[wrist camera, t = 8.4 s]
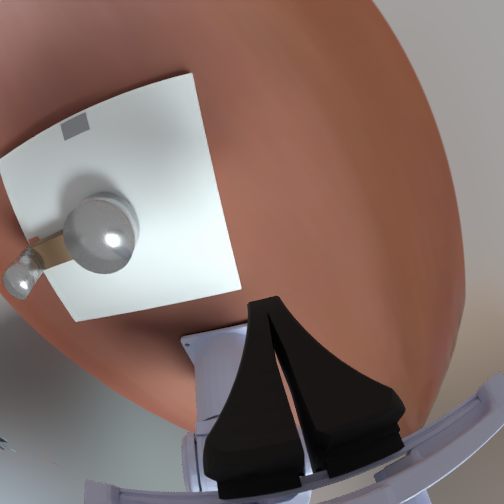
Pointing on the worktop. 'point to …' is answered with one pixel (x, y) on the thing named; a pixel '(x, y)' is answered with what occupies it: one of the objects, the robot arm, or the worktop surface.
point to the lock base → (130, 198)
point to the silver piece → (80, 243)
